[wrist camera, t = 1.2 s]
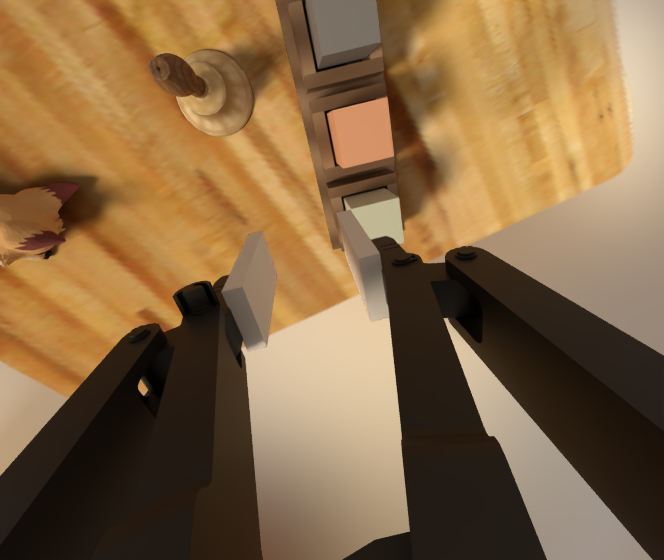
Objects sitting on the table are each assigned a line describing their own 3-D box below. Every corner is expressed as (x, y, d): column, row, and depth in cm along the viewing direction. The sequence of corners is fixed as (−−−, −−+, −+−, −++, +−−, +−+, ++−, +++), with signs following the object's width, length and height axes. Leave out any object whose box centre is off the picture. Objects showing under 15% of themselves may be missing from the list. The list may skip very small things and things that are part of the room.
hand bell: (208, 29, 31) (133, -56, 17) (268, 99, 35) (247, 77, 20) (159, 91, 33) (55, 62, 19) (220, 152, 36) (170, 166, 22)
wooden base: (274, -5, 31) (270, -26, 26) (370, -29, 31) (381, -54, 26) (332, 248, 43) (336, 260, 39) (400, 231, 43) (411, 242, 39)
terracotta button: (326, 113, 32) (332, 110, 27) (372, 102, 32) (387, 97, 27) (336, 162, 34) (343, 168, 29) (379, 152, 34) (394, 156, 29)
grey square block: (305, 5, 28) (307, -24, 23) (357, -7, 28) (371, -40, 23) (317, 69, 30) (322, 56, 25) (366, 57, 30) (381, 41, 25)
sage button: (343, 197, 36) (351, 209, 31) (383, 187, 36) (398, 197, 31) (351, 236, 39) (359, 253, 33) (389, 227, 38) (404, 242, 33)
